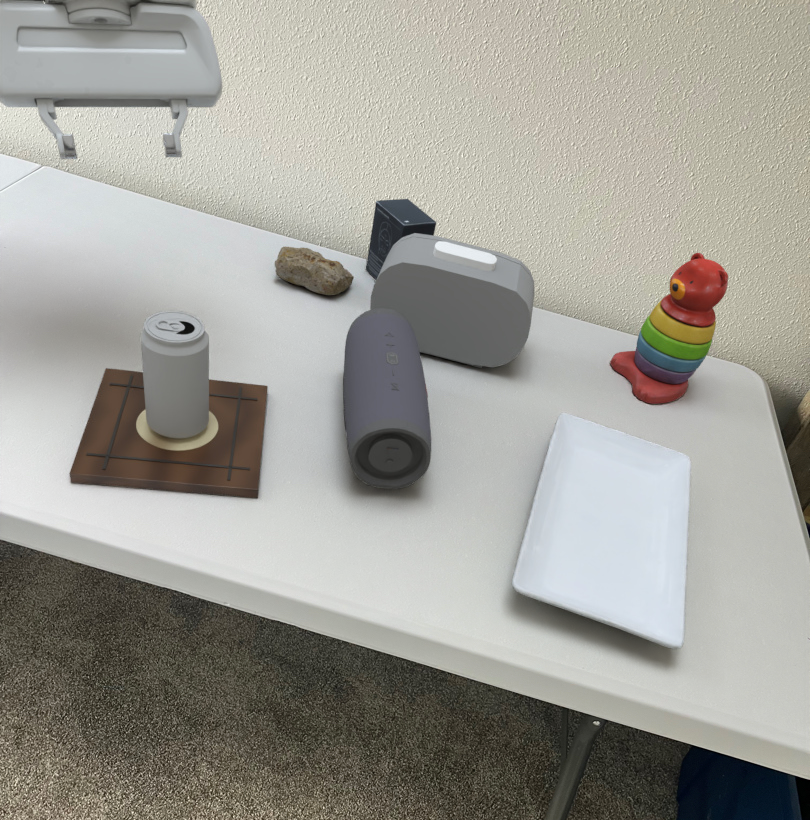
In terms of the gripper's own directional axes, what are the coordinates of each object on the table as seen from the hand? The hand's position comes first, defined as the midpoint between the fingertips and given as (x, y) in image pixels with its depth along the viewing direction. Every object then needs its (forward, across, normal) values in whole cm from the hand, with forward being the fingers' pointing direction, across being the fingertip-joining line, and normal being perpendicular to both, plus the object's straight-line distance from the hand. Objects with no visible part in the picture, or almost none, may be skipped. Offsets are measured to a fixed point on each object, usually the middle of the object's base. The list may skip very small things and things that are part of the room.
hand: (122, 157), depth 74 cm
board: (+27, +1, +4) cm, 27 cm away
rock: (+10, +24, +32) cm, 41 cm away
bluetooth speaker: (+29, +23, +4) cm, 38 cm away
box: (+10, +37, +33) cm, 50 cm away
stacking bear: (+28, +66, +11) cm, 73 cm away
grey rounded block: (+20, +38, +19) cm, 47 cm away
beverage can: (+26, +1, +3) cm, 26 cm away
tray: (+42, +43, -12) cm, 61 cm away
